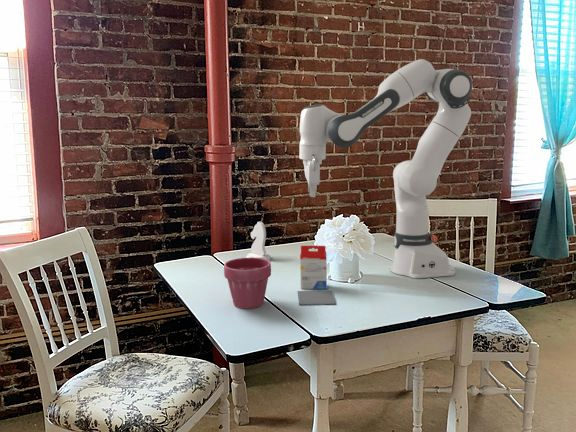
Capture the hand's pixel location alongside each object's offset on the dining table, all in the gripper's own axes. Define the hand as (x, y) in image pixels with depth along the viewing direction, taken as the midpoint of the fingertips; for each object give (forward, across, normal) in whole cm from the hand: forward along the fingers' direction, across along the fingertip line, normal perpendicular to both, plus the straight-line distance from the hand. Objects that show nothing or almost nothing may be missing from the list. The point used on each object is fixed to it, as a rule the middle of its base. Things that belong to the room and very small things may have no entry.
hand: (311, 194), depth 194 cm
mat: (+29, -22, 0) cm, 37 cm away
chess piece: (+30, +24, +19) cm, 42 cm away
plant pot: (+30, -26, +20) cm, 44 cm away
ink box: (+29, -11, 0) cm, 31 cm away
